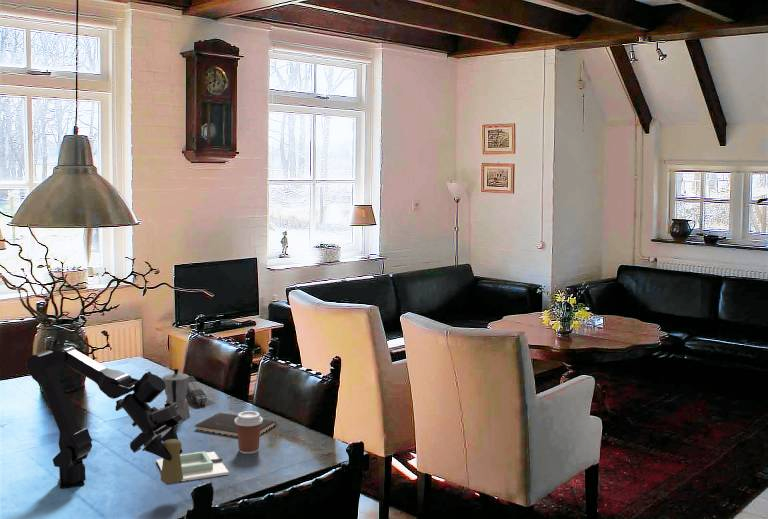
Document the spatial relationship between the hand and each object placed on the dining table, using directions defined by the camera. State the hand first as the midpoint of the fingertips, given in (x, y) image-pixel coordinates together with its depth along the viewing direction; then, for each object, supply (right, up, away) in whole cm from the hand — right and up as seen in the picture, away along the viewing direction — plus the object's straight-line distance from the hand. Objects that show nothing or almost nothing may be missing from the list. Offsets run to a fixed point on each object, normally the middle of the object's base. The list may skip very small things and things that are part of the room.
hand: (176, 456), depth 222 cm
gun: (-17, -1, +93) cm, 95 cm away
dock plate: (-1, -9, +24) cm, 25 cm away
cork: (-2, -7, +1) cm, 7 cm away
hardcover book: (+5, -6, +61) cm, 61 cm away
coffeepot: (-18, -3, +70) cm, 72 cm away
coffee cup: (+13, -8, +39) cm, 42 cm away
